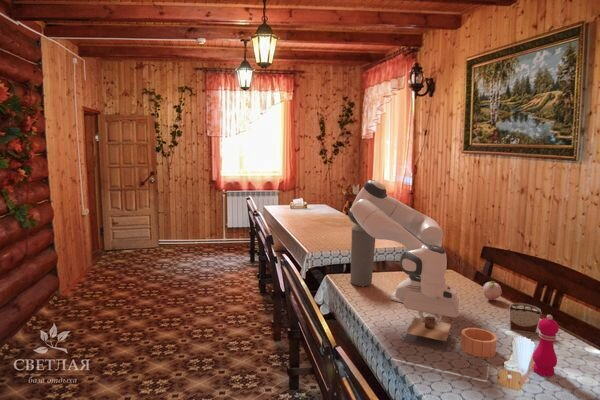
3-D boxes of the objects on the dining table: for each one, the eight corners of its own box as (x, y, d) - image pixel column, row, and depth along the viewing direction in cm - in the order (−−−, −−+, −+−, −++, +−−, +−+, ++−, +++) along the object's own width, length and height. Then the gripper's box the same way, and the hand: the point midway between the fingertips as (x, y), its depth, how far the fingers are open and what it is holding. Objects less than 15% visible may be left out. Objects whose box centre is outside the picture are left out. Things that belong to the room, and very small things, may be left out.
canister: (345, 279, 244) (349, 215, 239) (368, 279, 247) (372, 215, 242) (352, 287, 232) (356, 220, 227) (376, 287, 234) (380, 220, 229)
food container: (537, 328, 189) (540, 305, 187) (539, 334, 183) (542, 310, 182) (505, 323, 193) (507, 300, 191) (506, 329, 187) (508, 305, 186)
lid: (407, 333, 171) (407, 321, 170) (414, 320, 183) (415, 308, 183) (446, 341, 165) (447, 328, 164) (450, 327, 178) (451, 315, 177)
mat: (402, 343, 171) (402, 342, 171) (410, 327, 185) (410, 326, 185) (446, 353, 164) (446, 351, 164) (452, 336, 179) (452, 334, 179)
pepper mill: (526, 366, 156) (532, 310, 154) (546, 366, 157) (553, 310, 154) (539, 377, 149) (546, 319, 146) (560, 377, 150) (567, 319, 147)
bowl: (458, 353, 164) (460, 337, 164) (462, 340, 175) (463, 325, 174) (494, 361, 159) (496, 344, 159) (496, 347, 170) (497, 332, 169)
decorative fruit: (501, 305, 215) (503, 284, 213) (482, 302, 217) (484, 282, 216) (499, 298, 223) (501, 278, 222) (481, 296, 226) (483, 276, 225)
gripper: (403, 286, 173) (400, 321, 175) (459, 295, 165) (456, 332, 167) (406, 281, 179) (404, 315, 181) (461, 290, 171) (458, 325, 173)
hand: (429, 323), depth 174 cm, fingers closed on lid, 4 cm apart
